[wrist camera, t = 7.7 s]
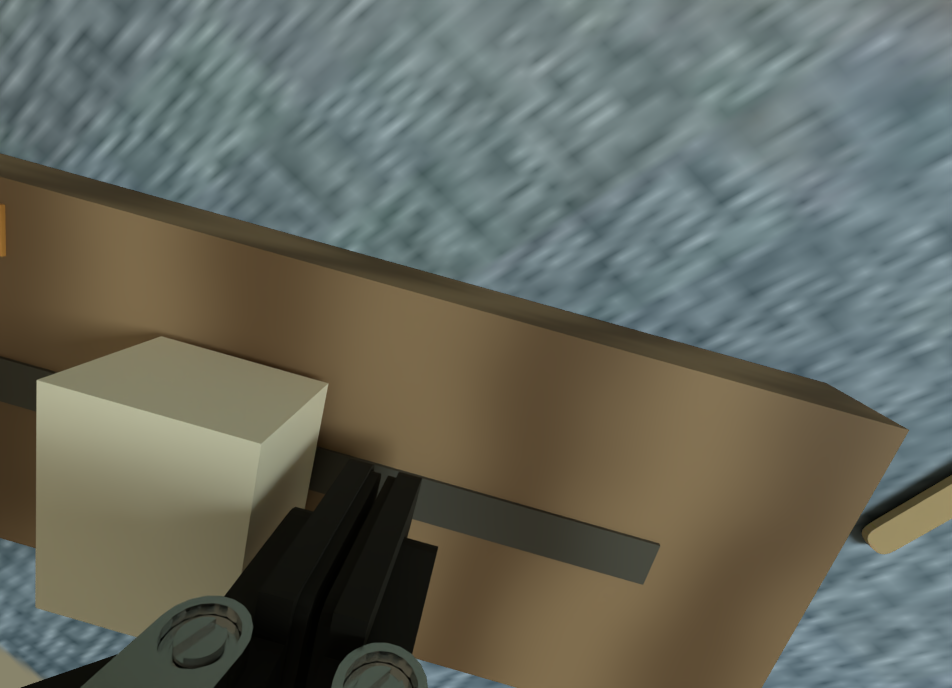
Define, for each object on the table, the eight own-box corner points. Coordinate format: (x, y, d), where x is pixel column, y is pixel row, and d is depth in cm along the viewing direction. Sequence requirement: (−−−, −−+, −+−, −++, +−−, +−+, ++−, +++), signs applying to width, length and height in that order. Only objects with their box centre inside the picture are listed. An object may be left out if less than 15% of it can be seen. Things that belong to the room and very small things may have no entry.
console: (826, 382, 14) (912, 432, 11) (690, 653, 16) (728, 752, 13) (-128, 117, 14) (-304, 92, 11) (-102, 425, 17) (-237, 472, 14)
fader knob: (328, 383, 11) (261, 443, 8) (295, 559, 13) (227, 663, 10) (161, 336, 11) (37, 379, 8) (146, 516, 13) (35, 607, 10)
